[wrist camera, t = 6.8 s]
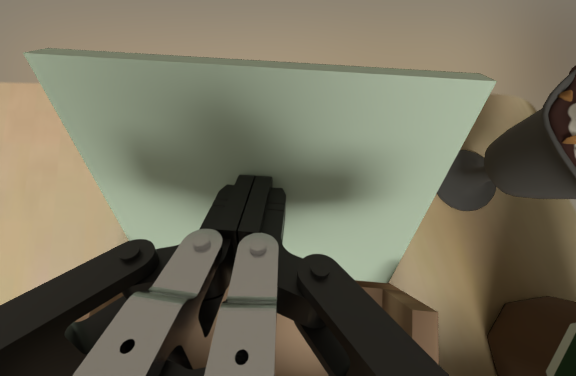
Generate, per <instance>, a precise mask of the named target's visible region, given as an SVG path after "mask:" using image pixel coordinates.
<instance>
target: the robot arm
mask: <svg viewBox="0 0 576 376" xmlns="http://www.w3.org/2000/svg"><path fill="white" fill-rule="evenodd" d="M285 212H286V194H285V192H284V190H283V188H273V178H272V177H270V176H255V175H239V176H238V178H237V180H236V182H235V185H229V184H227V185H226V186H224V187H223V188H222V189H221V190H219V192H218V194H217V196H216V198H215V200H214V202H213V204H212V206H211V208H210V209H209V211H208V213H207V215H206V217H205V219H204V221H203V223H202V225H201V227H200V229H199V230H196V231H194V232H192V233H190V234H188V235H187V236H186V237H185V238H184V239H183V240H182V242H181V243H180V244H179V245H176V246H170V247H165V248H159V249H155V246H154V244H153V243H152V242H151V241H149V240H146V239H135V240H131V241H128V242H125V243H123V244H121V245H119V246H117V247H115V248H113V249H111V250H109V251H107V252H105V253H103V254H101V255H99V256H97V257H95V258H93V259H91V260H89V261H87V262H85V263H83V264H82V265H80V266H78V267H76V268H74V269H72V270H70V271H68V272H66V273H64V274H62V275H60V276H58V277H56V278H54V279H52V280H50V281H48V282H46V283H44V284H42V285H40V286H38V287H36V288H34V289H32V290H30V291H28V292H26V293H24V294H22V295H20V296H18V297H16V298H14V299H12V300H10V301H8V302H6V303H4V304H2V305H0V376H275V356H276V323H277V313H278V314H280V315H282V316H284V317H287V318H289V319H291V320H293V321H294V323H295V325H296V327H297V329H298V330H299V332H300V333H301V335H302V336H303V338H304V339H305V341H306V342H307V344H308V345H309V347H310V348H311V350H312V351H313V353H314V354H315V356H316V357H317V359H318V360H319V362H320V363H321V365H322V366H323V368H324V369H325V371H326V372H327V374H328V375H329V376H449V375H448V374H447V373H446V372H445V371H444V370H443V369H442V368H441V367H440V366H439V365H438V364H437V363H436V362H435V361H434V360H433V359H432V358H431V357H430V356H429V355H428V354H427V353H426V352H425V351H424V350H423V349H422V348H421V347H420V346H419V345H418V344H417V343H416V342H415V341H414V340H413V339H412V338H411V337H410V336H409V335H408V334H407V333H406V332H405V331H404V330H403V328H402V327H401V326H400V325H399V324H398V323H397V322H396V321H395V320H394V319H393V318H392V317H391V316H390V315H389V314H388V313H387V312H386V311H385V310H384V309H383V308H382V307H381V306H380V305H379V304H378V303H377V302H376V301H375V300H374V299H373V298H372V297H371V296H370V295H369V294H368V293H367V292H366V291H365V290H364V289H363V288H362V287H361V286H360V285H359V284H358V283H357V282H356V281H355V280H354V279H353V278H352V277H351V276H350V275H349V274H348V273H347V272H346V271H345V270H344V269H343V268H342V267H341V266H340V265H339V264H338V263H337V262H336V261H335V260H334V259H332V258H331V257H329V256H326V255H323V254H311V255H308V256H306V257H304V258H301V257H298V256H295V255H293V254H291V253H290V252H288V251H287V250H286V249H285V248H284V246H283V235H284V226H285ZM120 293H122V294H123V295H124V296H122V297H120V298H119V299H117V300H116V301H114V302H112V303H111V304H109V305H108V306H106V307H104V308H103V309H101V310H100V311H98V312H96V313H95V314H93V315H92V316H90V317H89V318H87V319H85V320H83V321H80V322H75V321H76V320H78V319H79V318H81V317H83V316H84V315H86V314H88V313H89V312H91V311H92V310H94V309H96V308H97V307H99V306H101V305H102V304H104V303H105V302H107V301H109V300H110V299H112V298H113V297H115V296H117V295H118V294H120ZM212 338H213V339H212ZM211 341H212V343H211ZM210 345H211V348H210Z"/></svg>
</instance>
